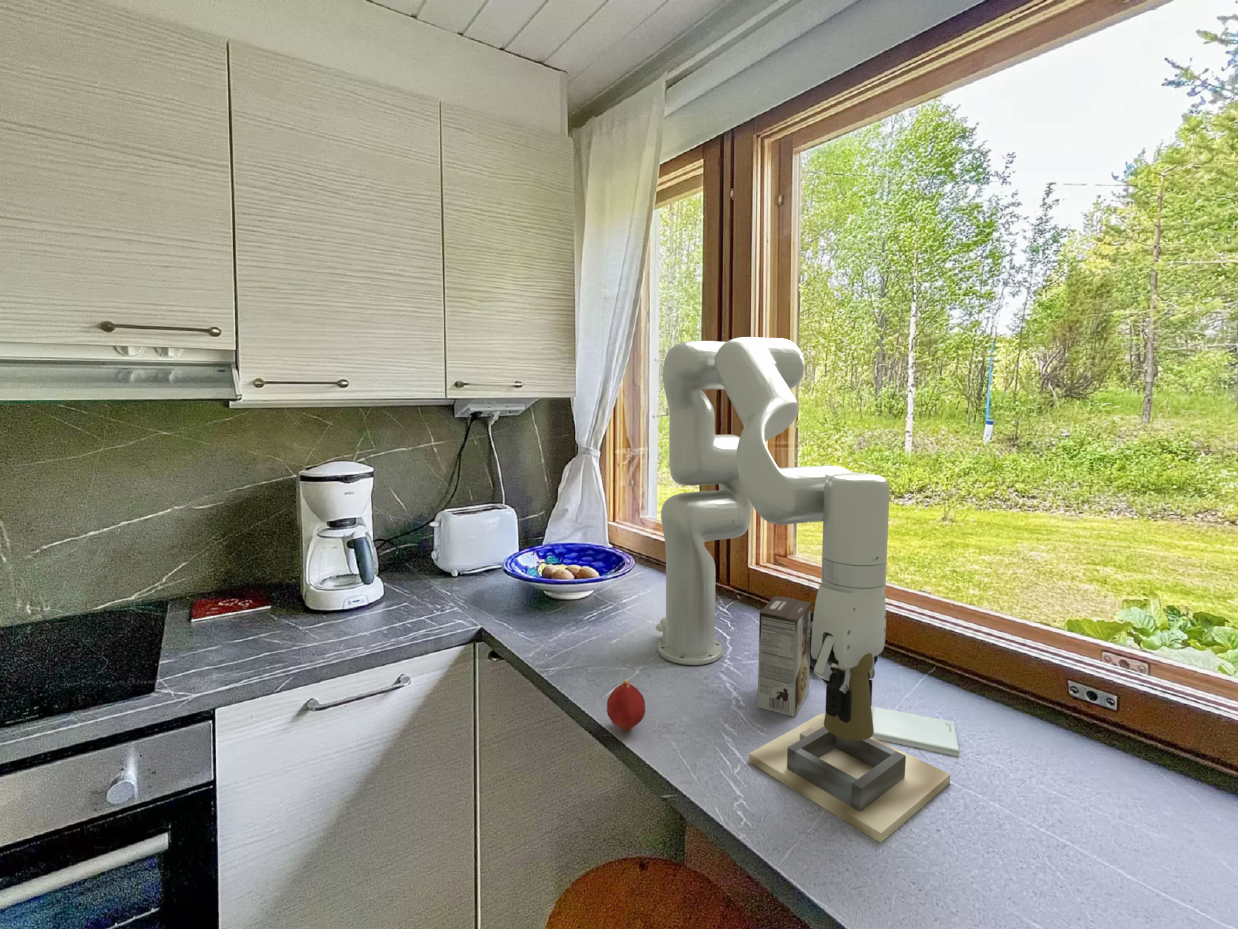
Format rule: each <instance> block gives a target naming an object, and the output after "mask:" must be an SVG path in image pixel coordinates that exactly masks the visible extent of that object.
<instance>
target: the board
mask: <svg viewBox="0 0 1238 929" xmlns="http://www.w3.org/2000/svg"><path fill="white" fill-rule="evenodd" d="M824 719H825V713H819V714H817V715H816V716H814V717H812V718H811V719H808V720H806V721H805V722H804V723H802V724H800V725H798V726H795V727H794V728H792V729H791V730H789V731H787V732H785V733H783V734H782V735H780V736H778V737H776V738H774V739H772V740H770V741H769V742H767V743H765V744H764V745H761V746H760V747H758V748H756V749H755V750H753V751H751V752H749V753H748V762H749V764H751V765H753V766H755V767H756V768H758V769H760V770H762V771H763V772H764V773H767V774H768V775H769V776H771V777H773V778H775V779H776V780H777V781H779V782H781V783H782V784H784V785H786V786H787V787H789V788H791V789H792V790H794V791H796V793H799V794H800V795H802V796H804V797H805V798H806V799H809V800H810V801H812V802H813V803H815V804H817V805H818V806H820V807H822V808H823V809H825V810H826V811H828V812H830V813H831V814H833V815H834V816H836V817H838V818H839V819H841V820H842V821H844V822H846V823H848V824H849V825H851V826H853V827H854V828H856V829H857V830H859V831H860V832H862V833H863V834H865V835H867V836H868V837H870V838H872V839H873V840H875V841H877V842H878V843H880V844H882V843H883V842H884V841H885V840H886V839H887V838H888V837H890V836H891V835H892V834H893V833H894V832H895V831H896V830H898V829H899V828H900V827H901V826H902V825H903V824H904V823H906V822H908V820H909V819H911V818H912V816H914V815H915V814H916V813H918V811H919V810H921V809H922V808H923V807H924V806H925V805H926V804H928V803H929V802H930V801H931V800H932V799H933V798H934V797H936V796H937V795H938V794H939V793H940V792H941V791H942V790H944V789H945V788H946V787H947V786H948V785H950V784H951V773H949V772H946V771H944V770H942V769H940V768H938V767H935V766H934V765H932V764H929V763H927V762H925V761H923V760H921V759H919V758H917V757H915V756H912V755H910V754H908V753H907V752H904V751H902V750H900V749H898V748H896V747H894V746H892V745H889V744H887V743H885V742H884V741H882V740H878V739H875V738H873V737H871V738H868V739H866V740H859V741H858V740H848V739H843V738H840V737H838V736H835V735H834V734H832V733H830V732H829V731H828V730H827V729H826V728H825V726H824ZM928 801H929V802H928ZM927 802H928V803H927Z"/></svg>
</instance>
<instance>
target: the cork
mask: <svg viewBox="0 0 1238 929" xmlns="http://www.w3.org/2000/svg"><path fill="white" fill-rule="evenodd" d="M833 661H834V662H836V663H839V660H837V659H836V658H834V659H833ZM872 666H873V656H872V654H871V653H868V654H866V655H864V656H863V658H862V659H861V660H860V662H859V664H858V665H857V666H855V667H852V668H851V674H850V681H849V688H848V690H849V691H851V692H852V697H851V720H850V721H849V722H848V723H845V722H843V721H841V720H840V719H839V717H838V715H836V716H835V717H832V716H830V715H828V714H827V713H826V712H825V713H824V715H825V719H824V726H825V728H826V729H827V730H828V731H829V732H830V733H832V734H834V735H835V736H838V737H840V738H843V739H848V740H858V741H859V740H866V739H868V738H871V737H872V736H873V734H874V728H873V718H872V709H871V706H872V705H871V699H870V689H869V680H868V673H869V672H870V671H871V669H872ZM834 673H836V674H837V675H838V676H839V677H840V678H841V673H842V671H840V670H838V669H835V668H834Z"/></svg>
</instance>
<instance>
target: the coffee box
mask: <svg viewBox="0 0 1238 929" xmlns="http://www.w3.org/2000/svg"><path fill="white" fill-rule="evenodd" d="M811 612H812V602H811V601H804V600H800V599H798V598H791V597H786V596H779V595H775V596H774V595H773V597H772V598H771V599H770V600H769V601H768V603H766V605H765V606H764V607H763V608H762V609H761V610H760V612H759V623H758V624H759V625H758V630H759V632H758V633H759V634H758V673H757V708H760V709H762V710H767V711H770V712H775V713H778V714H781V715H786V716H789V717H792V718H796V716H797V715H798V714H799V712H800V709H801V708H802V707H803V704H804V702H805V700H806V698H807V696H808V695H809V693H810V667H811V666H810V630H811Z"/></svg>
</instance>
